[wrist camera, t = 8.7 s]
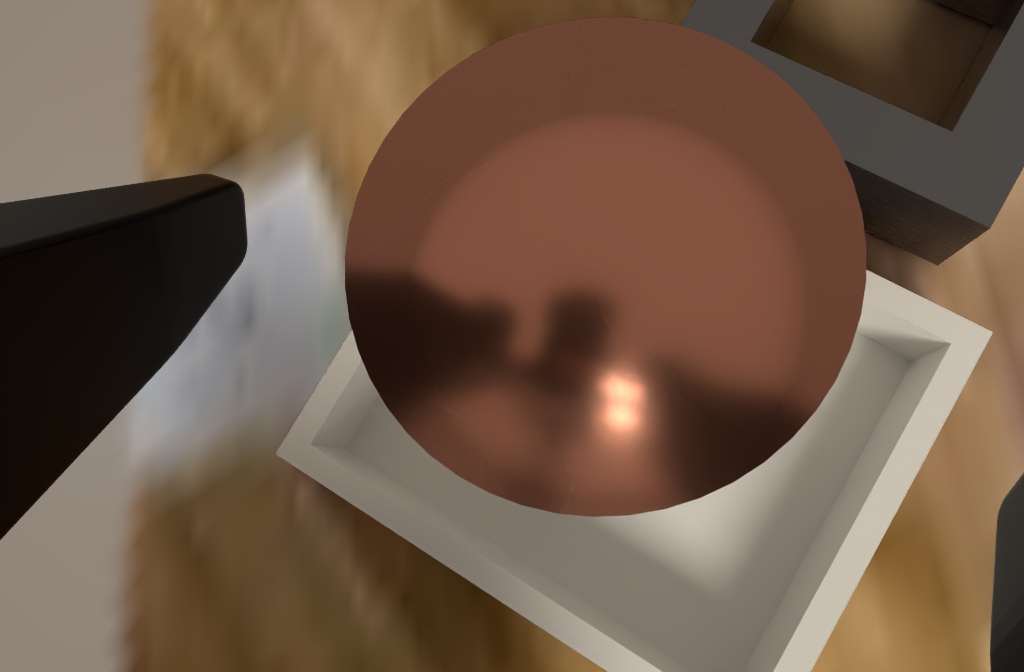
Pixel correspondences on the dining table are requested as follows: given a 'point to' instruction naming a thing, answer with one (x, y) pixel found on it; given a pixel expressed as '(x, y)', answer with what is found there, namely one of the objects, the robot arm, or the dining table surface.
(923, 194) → the dark grey square socket
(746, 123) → the pin
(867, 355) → the tray
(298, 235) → the dining table surface
